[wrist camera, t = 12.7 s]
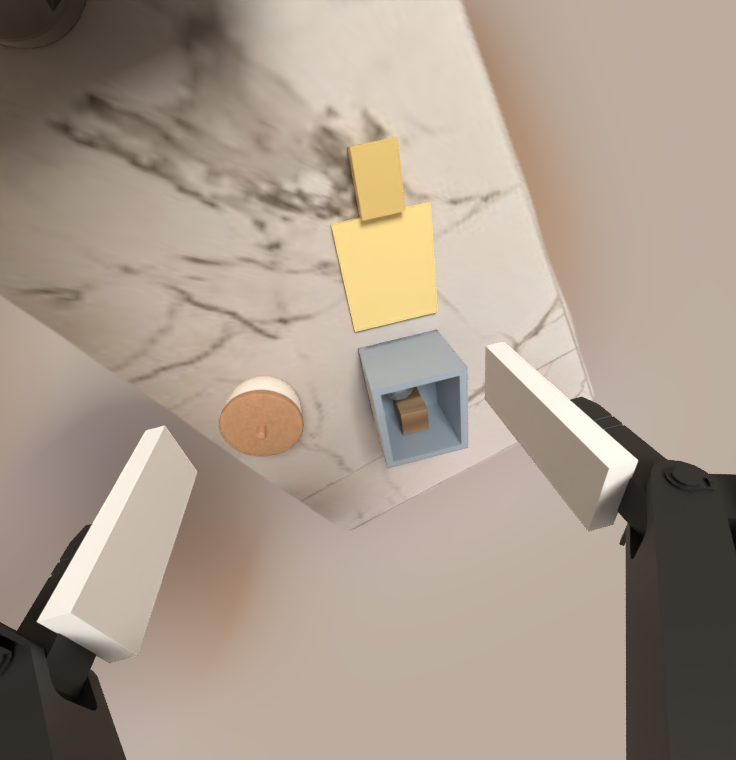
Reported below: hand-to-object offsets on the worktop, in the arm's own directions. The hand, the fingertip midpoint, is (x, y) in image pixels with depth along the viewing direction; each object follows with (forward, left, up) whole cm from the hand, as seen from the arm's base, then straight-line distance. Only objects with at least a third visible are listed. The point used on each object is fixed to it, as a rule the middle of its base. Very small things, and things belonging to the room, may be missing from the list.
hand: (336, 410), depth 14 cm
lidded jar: (+19, -12, -33) cm, 40 cm away
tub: (+22, +9, -33) cm, 40 cm away
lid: (+1, +9, -33) cm, 34 cm away
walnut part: (+26, +9, -32) cm, 42 cm away
